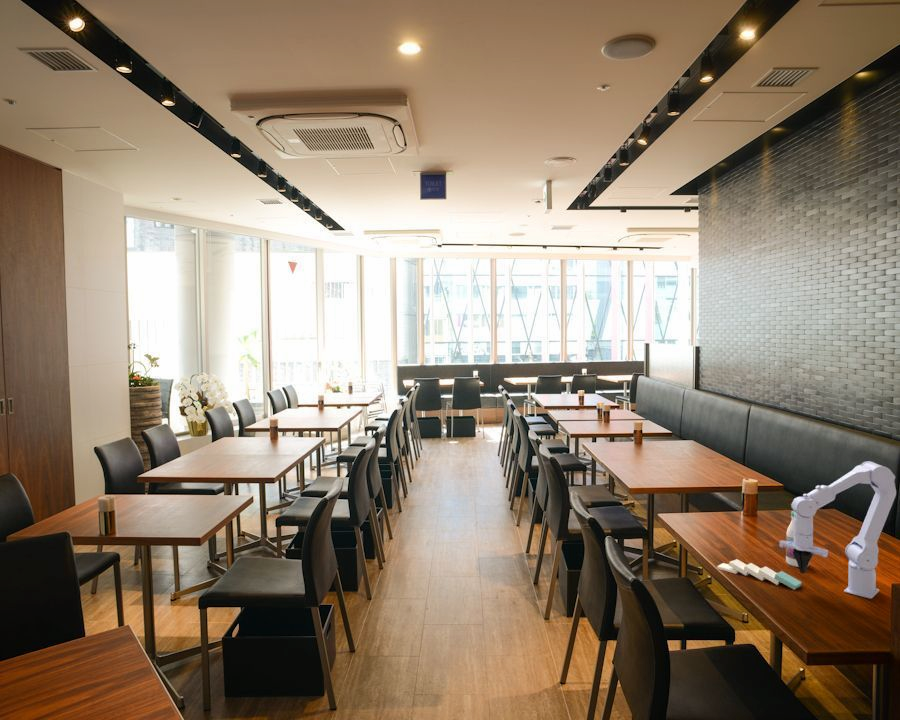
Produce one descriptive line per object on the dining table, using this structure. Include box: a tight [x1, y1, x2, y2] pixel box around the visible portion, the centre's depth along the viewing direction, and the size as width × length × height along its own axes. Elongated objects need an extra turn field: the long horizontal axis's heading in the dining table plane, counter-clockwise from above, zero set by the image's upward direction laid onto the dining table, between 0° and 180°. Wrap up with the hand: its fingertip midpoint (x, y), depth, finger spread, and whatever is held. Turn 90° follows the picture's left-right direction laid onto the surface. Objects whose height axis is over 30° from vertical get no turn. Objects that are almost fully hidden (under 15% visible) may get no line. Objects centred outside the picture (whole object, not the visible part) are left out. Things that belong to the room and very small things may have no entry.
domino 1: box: [716, 562, 740, 575], centre depth 230 cm, size 5×2×7 cm
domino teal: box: [774, 570, 803, 591], centre depth 215 cm, size 5×2×7 cm
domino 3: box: [744, 562, 767, 581], centre depth 223 cm, size 5×2×7 cm
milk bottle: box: [785, 510, 810, 568], centre depth 234 cm, size 8×8×20 cm
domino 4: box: [758, 566, 781, 586], centre depth 219 cm, size 5×2×7 cm
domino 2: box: [728, 558, 751, 577], centre depth 227 cm, size 5×2×7 cm
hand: (803, 572), depth 211 cm, fingers closed
